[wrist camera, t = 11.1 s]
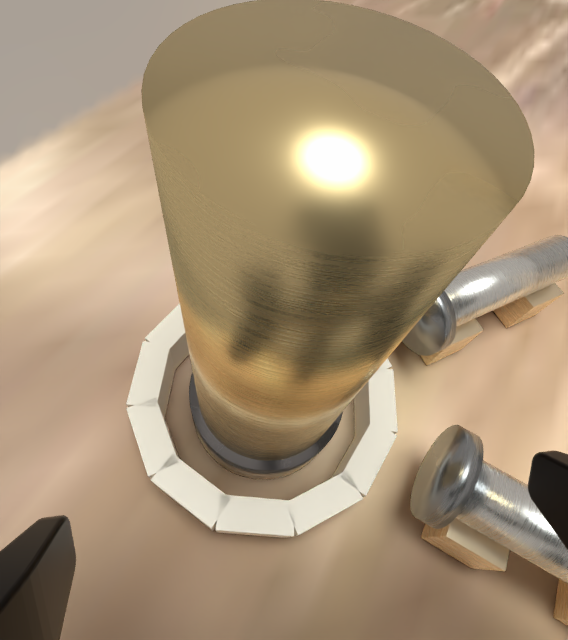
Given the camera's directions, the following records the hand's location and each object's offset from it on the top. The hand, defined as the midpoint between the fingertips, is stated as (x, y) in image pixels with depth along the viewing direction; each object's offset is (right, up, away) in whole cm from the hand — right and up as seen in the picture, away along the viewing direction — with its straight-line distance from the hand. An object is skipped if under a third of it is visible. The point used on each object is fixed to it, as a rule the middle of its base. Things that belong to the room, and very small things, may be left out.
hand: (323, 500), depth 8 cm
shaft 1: (+8, +3, +12) cm, 15 cm away
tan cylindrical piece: (-2, 0, +9) cm, 9 cm away
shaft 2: (+7, -5, +7) cm, 12 cm away
